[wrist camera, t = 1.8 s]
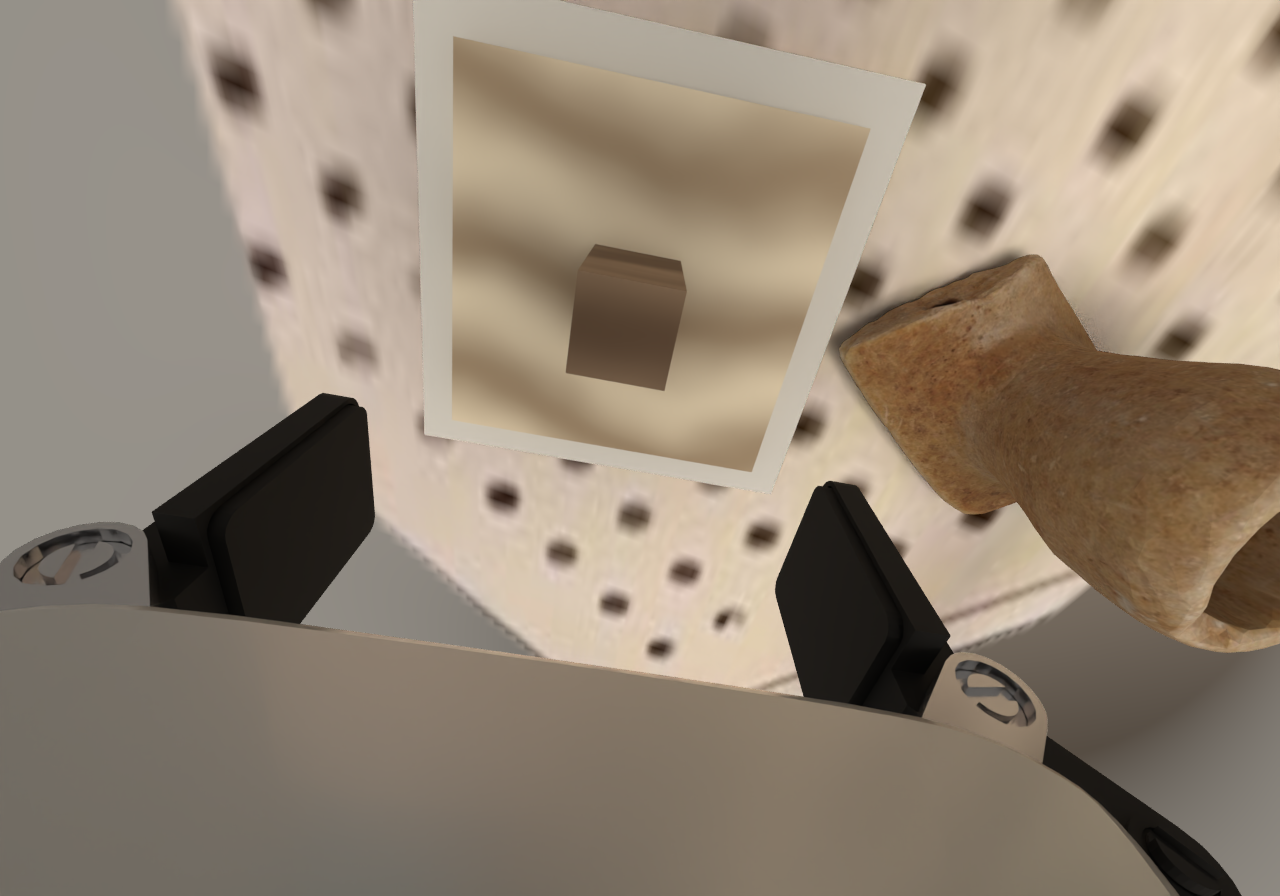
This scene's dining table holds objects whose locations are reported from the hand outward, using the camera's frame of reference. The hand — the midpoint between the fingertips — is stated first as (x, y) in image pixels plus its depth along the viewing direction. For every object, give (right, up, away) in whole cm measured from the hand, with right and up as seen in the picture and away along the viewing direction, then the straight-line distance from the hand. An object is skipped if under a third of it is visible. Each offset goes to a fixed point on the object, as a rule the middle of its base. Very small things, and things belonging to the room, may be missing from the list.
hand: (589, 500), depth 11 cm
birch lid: (+1, +9, +15) cm, 18 cm away
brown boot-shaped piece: (+20, +5, +18) cm, 27 cm away
